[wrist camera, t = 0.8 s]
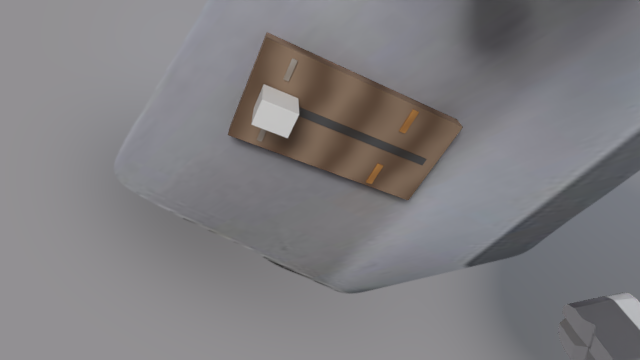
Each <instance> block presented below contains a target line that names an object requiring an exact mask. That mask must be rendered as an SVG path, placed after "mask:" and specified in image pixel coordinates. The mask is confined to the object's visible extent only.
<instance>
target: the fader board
mask: <svg viewBox="0 0 640 360" xmlns="http://www.w3.org/2000/svg"><path fill="white" fill-rule="evenodd" d="M264 84H265V85H267V86H270V87H272V88H275V89H277V90H279V91H282V92H284V93H287V94H289V95H291V96H294V97H296V98H298V102H299V116H298V118H297V120H296V122H295V124H294V126H293V128H292V131H291V133H290V135H289V137H288V138H285V137H283V136H280V135H277V134H275V133H272V132H270V131H267V130H264V129H262V128H259V127H256V126H254V125H251V124H252V117H253V110H254V106H255V104H256V101H257V99H258V97H259V94H260V92H261V89H262V87H263V85H264ZM462 128H463V127H462V125H461V124H460V123H459V122H458V120H457V119H454V118H452V117H450V116H448V115H446V114H444V113H441V112H439V111H437V110H435V109H433V108H431V107H428V106H426V105H424V104H422V103H420V102H417V101H415V100H413V99H411V98H409V97H407V96H404V95H402V94H400V93H398V92H396V91H394V90H391V89H389V88H387V87H385V86H383V85H380V84H378V83H376V82H374V81H372V80H370V79H367V78H365V77H363V76H361V75H359V74H357V73H354V72H352V71H350V70H348V69H346V68H343V67H341V66H339V65H337V64H335V63H333V62H330V61H328V60H326V59H324V58H322V57H320V56H317V55H315V54H313V53H311V52H309V51H306V50H304V49H302V48H300V47H298V46H296V45H293V44H291V43H289V42H287V41H285V40H283V39H280V38H278V37H276V36H274V35H272V34H269V33H266V36H265V38H264V41H263V43H262V46H261V48H260V51H259V54H258V56H257V59H256V61H255V64H254V66H253V69H252V71H251V74H250V77H249V79H248V82H247V84H246V87H245V89H244V92H243V95H242V97H241V100H240V102H239V105H238V107H237V110H236V113H235V115H234V118H233V120H232V123H231V125H230V129H229V133H228V135H229V136H232V137H235V138H237V139H240V140H243V141H246V142H248V143H251V144H254V145H257V146H260V147H262V148H265V149H268V150H271V151H273V152H276V153H279V154H282V155H284V156H287V157H290V158H293V159H295V160H298V161H301V162H304V163H306V164H309V165H312V166H315V167H317V168H320V169H323V170H326V171H328V172H331V173H334V174H337V175H339V176H342V177H345V178H348V179H351V180H353V181H356V182H359V183H362V184H364V185H367V186H370V187H373V188H375V189H378V190H381V191H384V192H386V193H389V194H392V195H395V196H397V197H400V198H403V199H406V200H409V199H410V197H411V196H412V195H413V193H414V192H415V191H416V189H417V188H418V187H419V185H420V184H421V183H422V181H423V180H424V179H425V177H426V176H427V175H428V173H429V172H430V171H431V169H432V168H433V167H434V165H435V164H436V162H437V161H438V160H439V158H440V157H441V156H442V154H443V153H444V152H445V150H446V149H447V148H448V146H449V145H450V144H451V142H452V141H453V140H454V138H455V137H456V136H457V134H458V133H459V132H460V130H461V129H462Z"/></svg>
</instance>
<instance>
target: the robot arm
mask: <svg viewBox="0 0 640 360" xmlns="http://www.w3.org/2000/svg"><path fill="white" fill-rule="evenodd" d="M562 313H563V315H564V316H565V319H564V320H563V321H562V322H560V324H559V329H558V333H559V336H560V341H561V343H562V346H563V348H564V350H565V351H566V353H567V355H568V356H569V358H570V359H571V360H640V302H639V301H638V300H637V299H636V298H635V297H634V296H632V295H631V294H629V293H619V294H614V295H609V296H603V297H598V298H593V299H588V300H584V301H580V302H575V303H570V304H567V305H565V306H564V307H563V311H562Z"/></svg>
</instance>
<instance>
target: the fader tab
mask: <svg viewBox="0 0 640 360" xmlns="http://www.w3.org/2000/svg"><path fill="white" fill-rule="evenodd" d="M298 116H299V102H298V98H296V97H294V96H291V95H289V94H287V93H284V92H282V91H279V90H277V89H275V88H272V87H270V86H267V85H265V84H264V85H263V87H262V89H261V92H260V94H259V97H258V99H257V101H256V104H255V106H254V110H253V117H252V124H251V125H254V126H256V127H259V128H262V129H264V130H267V131H270V132H272V133H275V134H277V135H280V136H283V137H285V138H288V137H289V135H290V133H291V131H292V128H293V126H294V124H295V122H296V120H297V118H298Z"/></svg>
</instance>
